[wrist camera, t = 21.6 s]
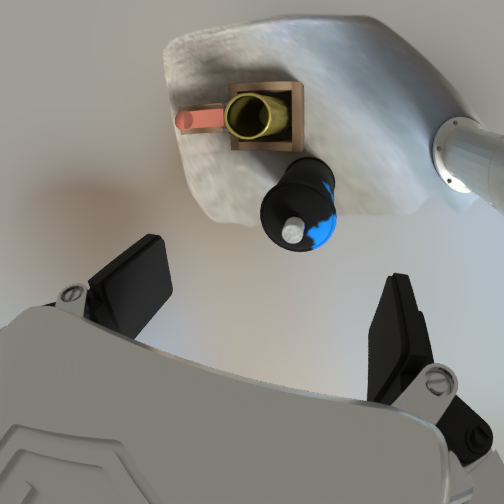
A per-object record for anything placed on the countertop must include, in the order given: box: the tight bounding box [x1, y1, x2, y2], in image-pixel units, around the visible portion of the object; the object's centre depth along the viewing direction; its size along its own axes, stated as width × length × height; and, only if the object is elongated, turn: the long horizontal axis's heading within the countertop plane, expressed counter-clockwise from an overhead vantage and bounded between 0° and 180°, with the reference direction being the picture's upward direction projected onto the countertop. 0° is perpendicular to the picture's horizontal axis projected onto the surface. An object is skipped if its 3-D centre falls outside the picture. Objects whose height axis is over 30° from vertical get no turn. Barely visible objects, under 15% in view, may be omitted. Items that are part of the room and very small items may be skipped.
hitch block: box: [179, 82, 304, 152], centre depth 36 cm, size 18×10×7 cm, turn 91°
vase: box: [224, 93, 292, 139], centre depth 32 cm, size 6×6×14 cm
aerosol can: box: [260, 157, 337, 252], centre depth 33 cm, size 8×8×20 cm
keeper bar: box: [175, 108, 226, 130], centre depth 35 cm, size 8×3×1 cm, turn 91°
